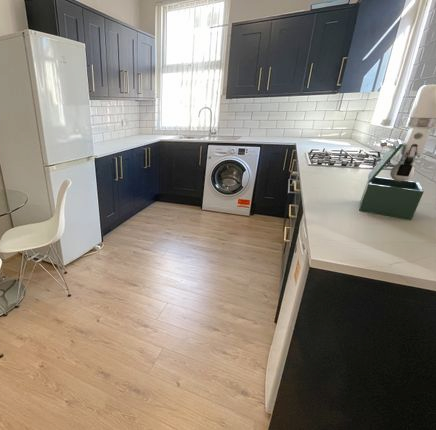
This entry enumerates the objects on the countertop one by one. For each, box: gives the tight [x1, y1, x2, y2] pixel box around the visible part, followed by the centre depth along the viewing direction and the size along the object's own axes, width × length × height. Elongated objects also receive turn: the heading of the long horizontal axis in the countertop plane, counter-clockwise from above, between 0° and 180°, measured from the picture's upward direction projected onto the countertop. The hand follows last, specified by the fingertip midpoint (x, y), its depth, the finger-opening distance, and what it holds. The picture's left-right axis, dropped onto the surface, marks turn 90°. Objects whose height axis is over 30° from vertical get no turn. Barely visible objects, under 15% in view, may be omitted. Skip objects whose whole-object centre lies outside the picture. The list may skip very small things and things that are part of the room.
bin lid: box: [367, 139, 404, 183], centre depth 107 cm, size 15×16×5 cm
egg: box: [389, 161, 415, 182], centre depth 103 cm, size 6×6×8 cm
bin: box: [358, 176, 424, 221], centre depth 108 cm, size 15×16×11 cm
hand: (401, 173), depth 104 cm, fingers closed on egg, 6 cm apart
